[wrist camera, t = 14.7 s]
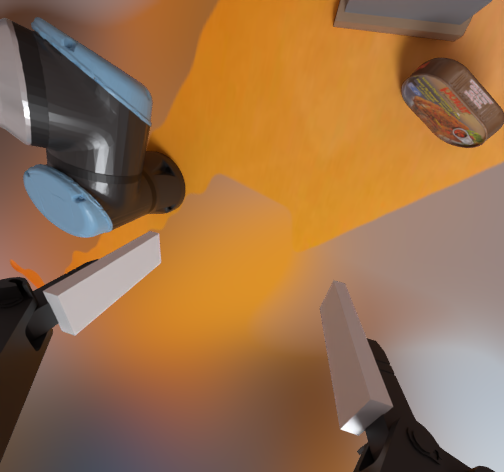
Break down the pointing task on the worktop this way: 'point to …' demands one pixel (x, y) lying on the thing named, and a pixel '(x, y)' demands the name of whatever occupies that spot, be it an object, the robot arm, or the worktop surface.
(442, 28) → the block
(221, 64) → the worktop surface
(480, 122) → the tin
